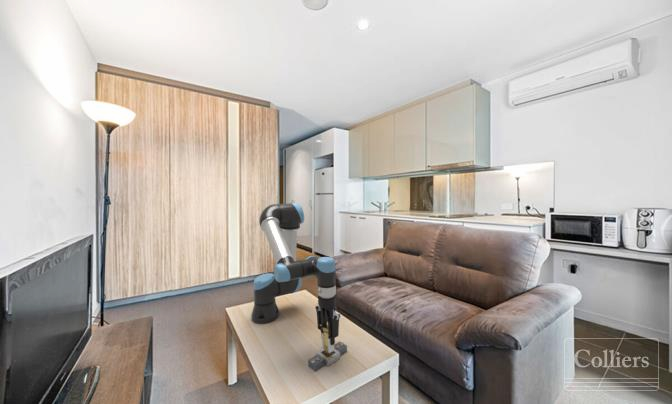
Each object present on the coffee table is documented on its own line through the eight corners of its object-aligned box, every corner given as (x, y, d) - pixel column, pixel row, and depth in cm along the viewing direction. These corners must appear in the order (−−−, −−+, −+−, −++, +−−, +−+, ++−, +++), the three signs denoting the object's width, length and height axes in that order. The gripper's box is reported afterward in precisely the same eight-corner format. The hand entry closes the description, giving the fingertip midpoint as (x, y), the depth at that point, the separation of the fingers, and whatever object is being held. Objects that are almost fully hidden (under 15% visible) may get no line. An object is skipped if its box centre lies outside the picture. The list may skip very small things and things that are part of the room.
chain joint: (317, 373, 99) (316, 366, 99) (306, 364, 105) (305, 357, 104) (349, 352, 112) (349, 346, 111) (337, 345, 117) (337, 339, 117)
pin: (321, 358, 108) (320, 327, 107) (328, 353, 111) (328, 323, 110) (328, 363, 105) (327, 331, 104) (335, 358, 108) (334, 327, 107)
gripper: (308, 292, 110) (309, 344, 111) (333, 303, 98) (334, 362, 99) (321, 287, 115) (322, 337, 116) (347, 297, 103) (348, 354, 104)
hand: (328, 349), depth 108 cm, fingers closed on pin, 3 cm apart
